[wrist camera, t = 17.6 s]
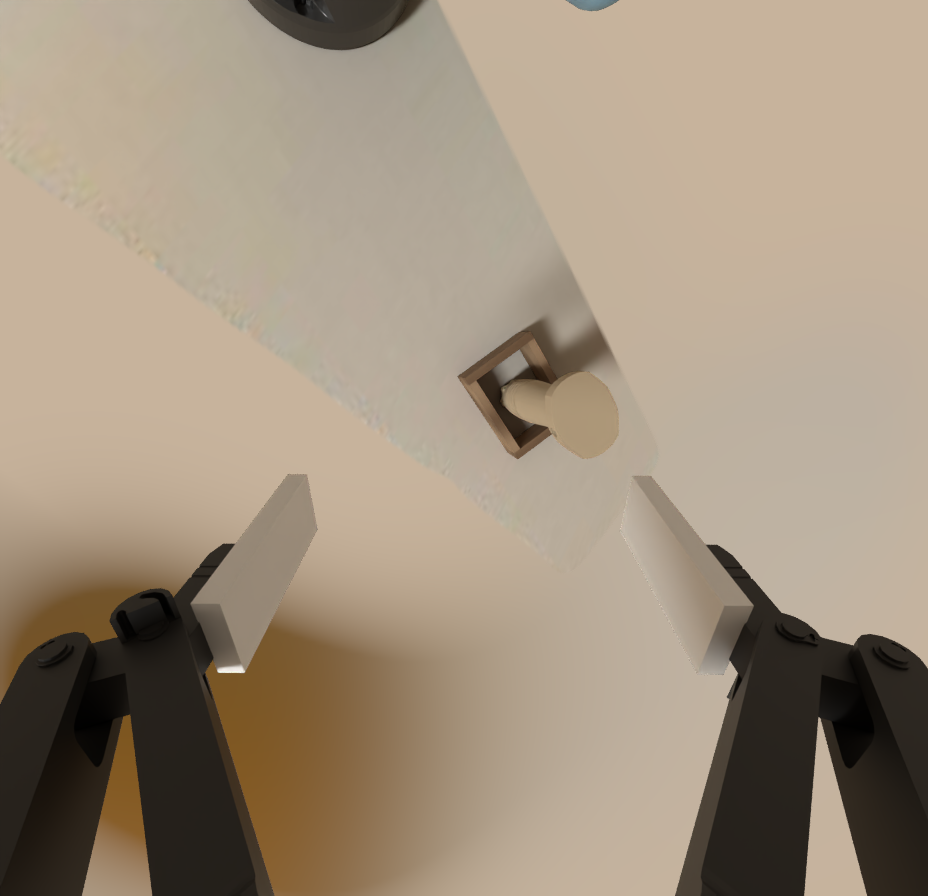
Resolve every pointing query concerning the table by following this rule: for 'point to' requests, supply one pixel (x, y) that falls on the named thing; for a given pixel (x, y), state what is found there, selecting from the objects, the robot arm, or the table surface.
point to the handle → (567, 410)
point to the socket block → (468, 380)
